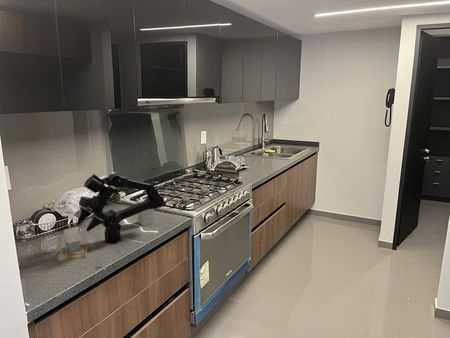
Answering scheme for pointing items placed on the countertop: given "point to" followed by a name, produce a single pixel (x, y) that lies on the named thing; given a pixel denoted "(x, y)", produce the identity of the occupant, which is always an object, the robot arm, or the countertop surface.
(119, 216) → the robot arm
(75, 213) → the decorative fruit
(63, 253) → the wooden tray
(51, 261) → the countertop surface
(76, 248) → the plain gray box
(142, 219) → the supplement box
